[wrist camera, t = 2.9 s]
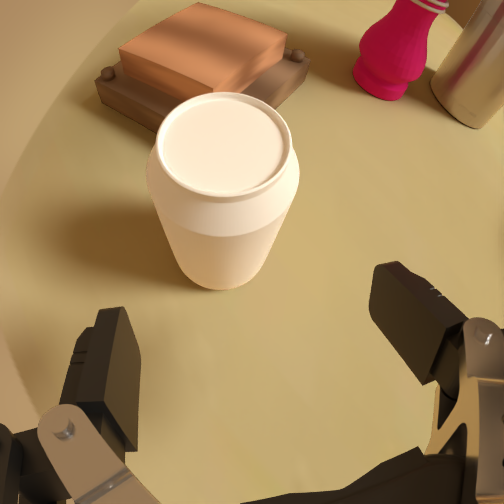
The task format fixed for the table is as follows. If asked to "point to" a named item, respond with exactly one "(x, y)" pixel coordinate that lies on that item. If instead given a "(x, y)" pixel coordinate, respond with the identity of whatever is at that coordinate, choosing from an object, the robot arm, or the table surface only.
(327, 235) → the table surface
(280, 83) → the brick plinth
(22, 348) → the table surface
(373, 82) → the pepper mill
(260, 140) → the beverage can
